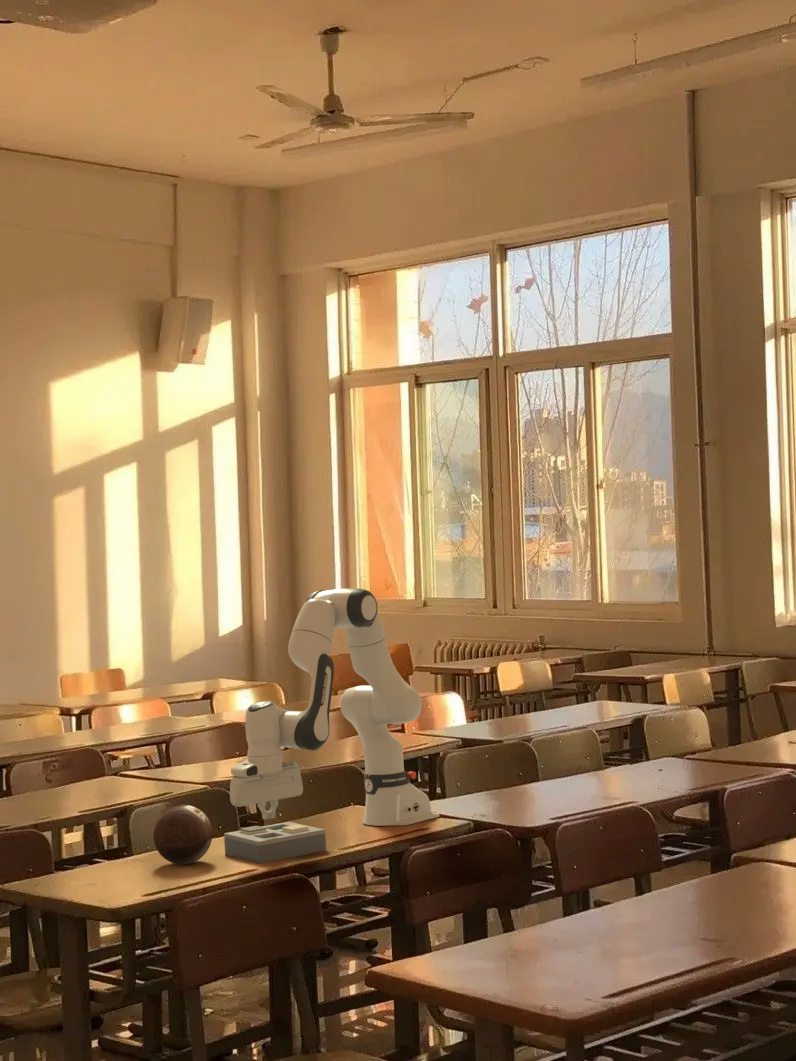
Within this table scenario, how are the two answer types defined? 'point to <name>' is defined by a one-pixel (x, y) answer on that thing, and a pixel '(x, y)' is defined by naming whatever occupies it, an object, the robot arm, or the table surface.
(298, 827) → the key
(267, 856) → the keypad
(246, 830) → the key
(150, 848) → the table surface
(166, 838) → the wooden sphere
